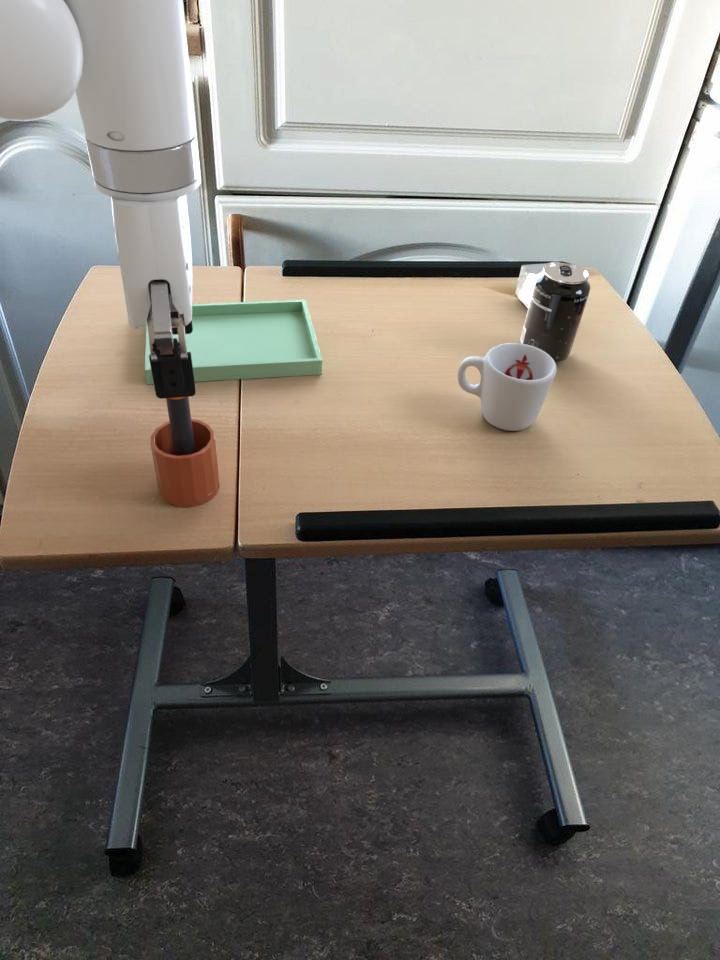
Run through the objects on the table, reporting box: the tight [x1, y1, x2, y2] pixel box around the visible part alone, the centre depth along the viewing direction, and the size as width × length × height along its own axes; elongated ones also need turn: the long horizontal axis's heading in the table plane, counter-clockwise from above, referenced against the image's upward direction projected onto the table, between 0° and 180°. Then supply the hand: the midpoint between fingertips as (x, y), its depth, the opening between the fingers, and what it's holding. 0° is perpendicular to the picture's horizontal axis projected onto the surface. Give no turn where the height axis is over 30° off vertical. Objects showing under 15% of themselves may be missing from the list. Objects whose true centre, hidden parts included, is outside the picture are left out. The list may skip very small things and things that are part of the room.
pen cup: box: [150, 418, 220, 508], centre depth 70 cm, size 6×6×6 cm
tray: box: [144, 299, 323, 386], centre depth 91 cm, size 21×15×2 cm
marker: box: [165, 397, 195, 456], centre depth 67 cm, size 2×2×14 cm
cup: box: [457, 342, 558, 432], centre depth 82 cm, size 11×8×8 cm
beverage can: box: [519, 260, 591, 364], centre depth 91 cm, size 7×7×12 cm
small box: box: [514, 262, 549, 309], centre depth 104 cm, size 6×6×5 cm
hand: (175, 362), depth 62 cm, fingers open, 9 cm apart
